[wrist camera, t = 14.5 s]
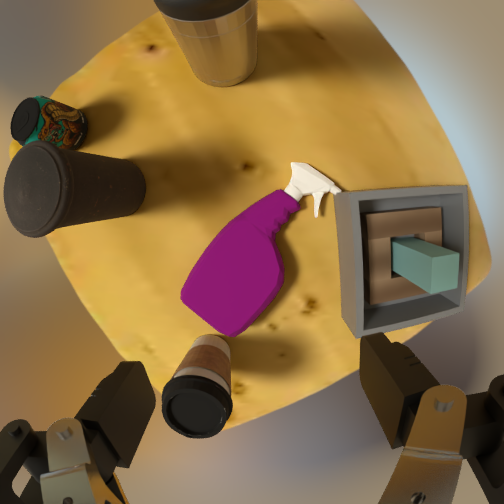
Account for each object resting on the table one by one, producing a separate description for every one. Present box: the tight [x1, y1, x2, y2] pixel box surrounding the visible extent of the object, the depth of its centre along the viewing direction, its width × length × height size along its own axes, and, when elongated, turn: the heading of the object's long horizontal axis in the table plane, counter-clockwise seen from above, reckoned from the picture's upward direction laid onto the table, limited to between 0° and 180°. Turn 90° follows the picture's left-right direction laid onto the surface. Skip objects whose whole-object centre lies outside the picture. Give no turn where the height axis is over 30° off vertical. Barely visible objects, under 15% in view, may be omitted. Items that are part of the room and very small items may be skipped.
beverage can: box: [11, 96, 87, 150], centre depth 30 cm, size 7×7×12 cm
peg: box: [390, 237, 459, 294], centre depth 32 cm, size 4×4×12 cm
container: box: [4, 140, 146, 238], centre depth 28 cm, size 9×9×20 cm
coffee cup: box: [162, 335, 233, 438], centre depth 35 cm, size 8×8×15 cm
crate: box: [333, 185, 469, 339], centre depth 35 cm, size 18×18×7 cm
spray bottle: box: [180, 162, 341, 337], centre depth 37 cm, size 3×11×24 cm
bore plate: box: [359, 206, 442, 305], centre depth 36 cm, size 12×12×3 cm
